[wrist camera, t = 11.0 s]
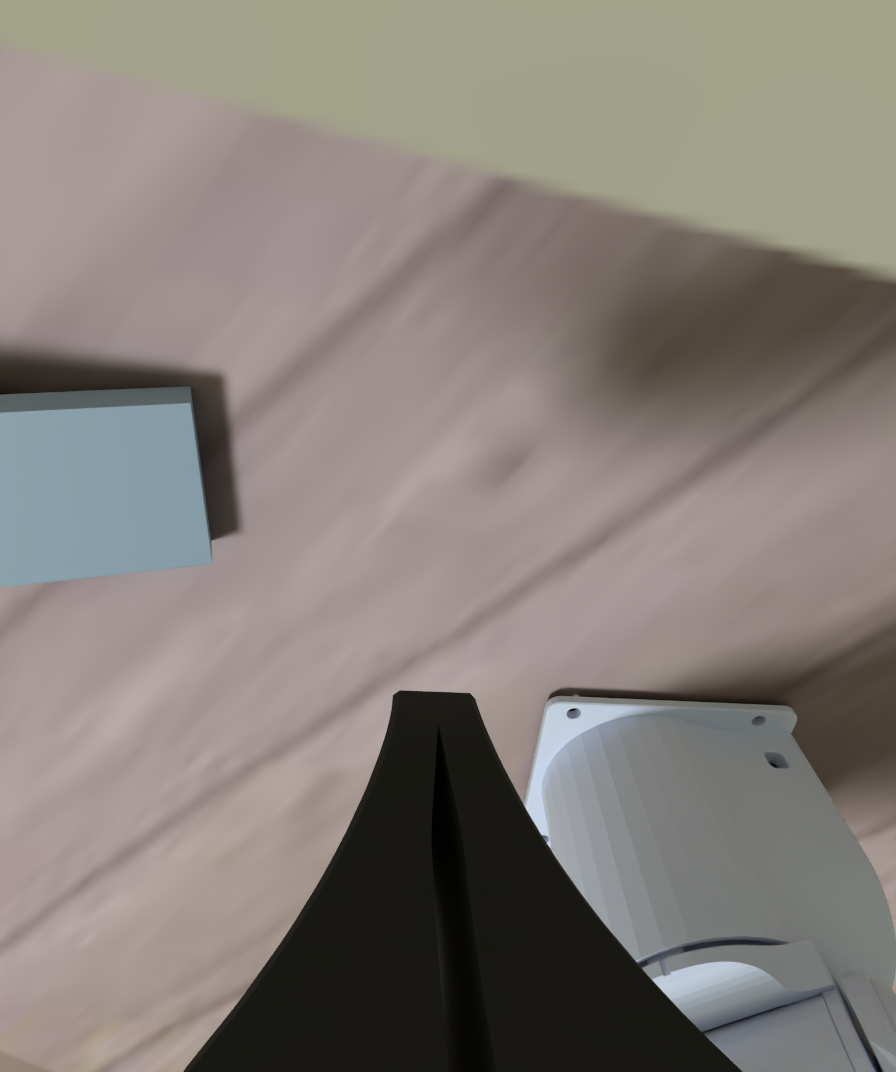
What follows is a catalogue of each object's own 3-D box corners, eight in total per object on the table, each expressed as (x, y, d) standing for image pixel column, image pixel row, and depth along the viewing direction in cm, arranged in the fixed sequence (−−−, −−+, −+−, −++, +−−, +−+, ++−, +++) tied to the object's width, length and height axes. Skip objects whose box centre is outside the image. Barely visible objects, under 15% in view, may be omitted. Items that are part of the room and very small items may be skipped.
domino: (190, 403, 19) (-149, 420, 17) (212, 563, 21) (-80, 596, 19) (190, 385, 20) (-127, 399, 18) (211, 540, 22) (-65, 568, 20)
